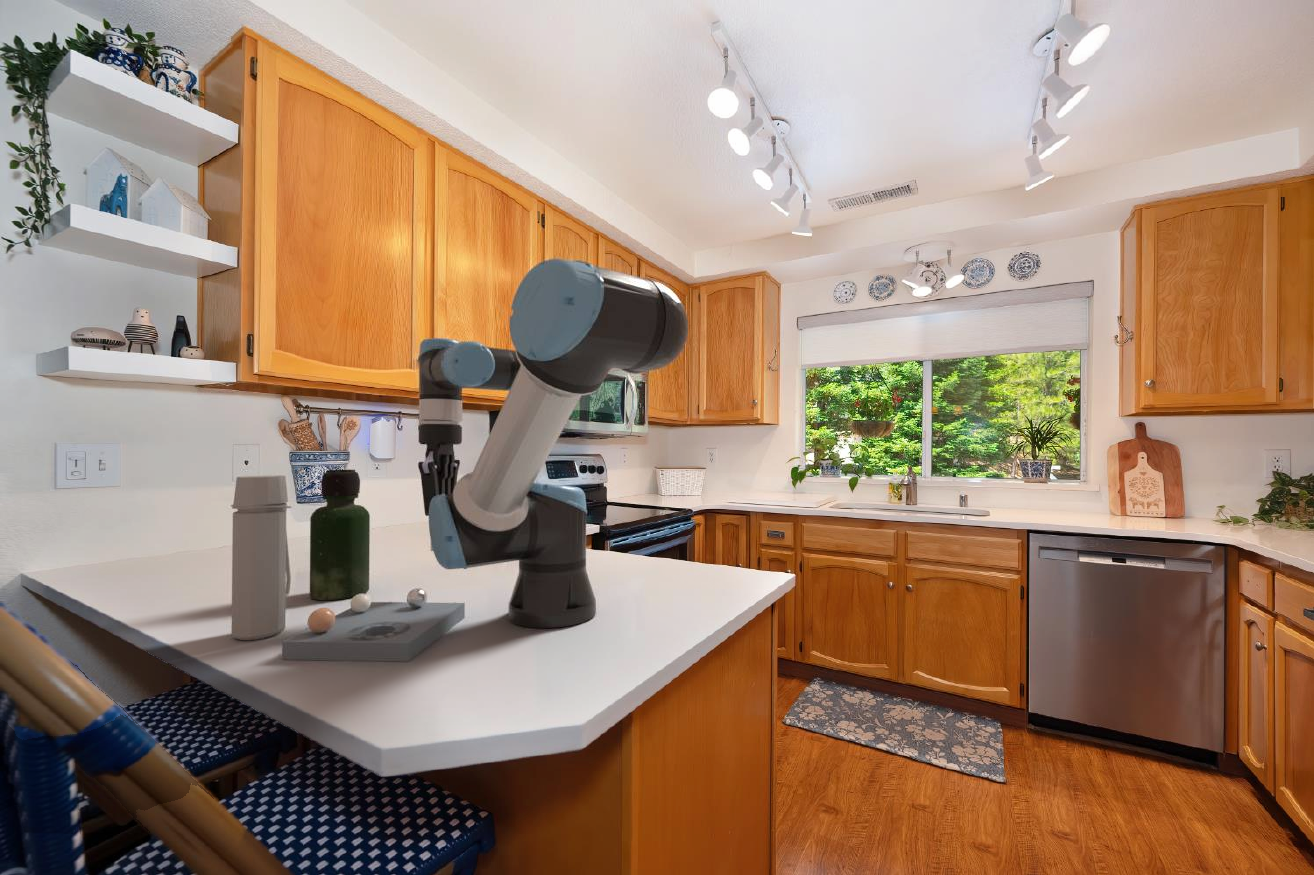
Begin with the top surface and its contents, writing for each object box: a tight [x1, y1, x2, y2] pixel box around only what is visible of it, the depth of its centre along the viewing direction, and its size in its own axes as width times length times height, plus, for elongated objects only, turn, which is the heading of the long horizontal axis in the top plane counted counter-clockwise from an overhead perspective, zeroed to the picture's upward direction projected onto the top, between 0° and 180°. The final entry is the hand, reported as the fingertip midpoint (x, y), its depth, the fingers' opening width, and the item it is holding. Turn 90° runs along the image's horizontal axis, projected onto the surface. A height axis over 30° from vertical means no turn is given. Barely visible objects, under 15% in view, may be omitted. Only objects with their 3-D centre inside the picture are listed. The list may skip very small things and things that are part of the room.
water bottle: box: [230, 474, 292, 641], centre depth 90 cm, size 9×8×25 cm
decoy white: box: [350, 593, 372, 613], centre depth 92 cm, size 3×3×3 cm
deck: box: [281, 601, 466, 663], centre depth 88 cm, size 18×20×2 cm
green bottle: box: [309, 469, 371, 601], centre depth 113 cm, size 10×10×25 cm
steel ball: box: [406, 587, 428, 608], centre depth 95 cm, size 3×3×3 cm
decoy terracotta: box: [307, 607, 336, 633], centre depth 82 cm, size 4×4×4 cm
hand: (439, 550), depth 104 cm, fingers closed
